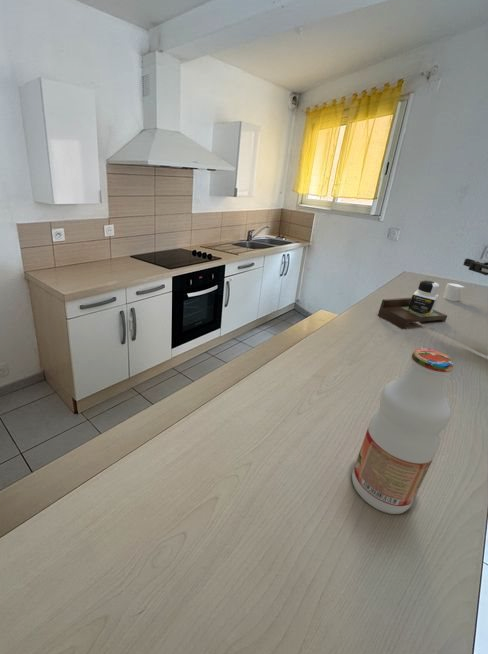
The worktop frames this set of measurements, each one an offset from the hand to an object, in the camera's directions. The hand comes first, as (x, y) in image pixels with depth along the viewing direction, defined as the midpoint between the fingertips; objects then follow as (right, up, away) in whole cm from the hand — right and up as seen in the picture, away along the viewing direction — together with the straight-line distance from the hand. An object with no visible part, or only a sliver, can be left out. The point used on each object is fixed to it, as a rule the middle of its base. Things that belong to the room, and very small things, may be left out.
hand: (477, 262), depth 102 cm
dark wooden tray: (-5, -20, +24) cm, 32 cm away
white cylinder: (+32, -11, +49) cm, 60 cm away
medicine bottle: (-2, -16, +22) cm, 28 cm away
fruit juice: (-58, -47, -45) cm, 87 cm away
